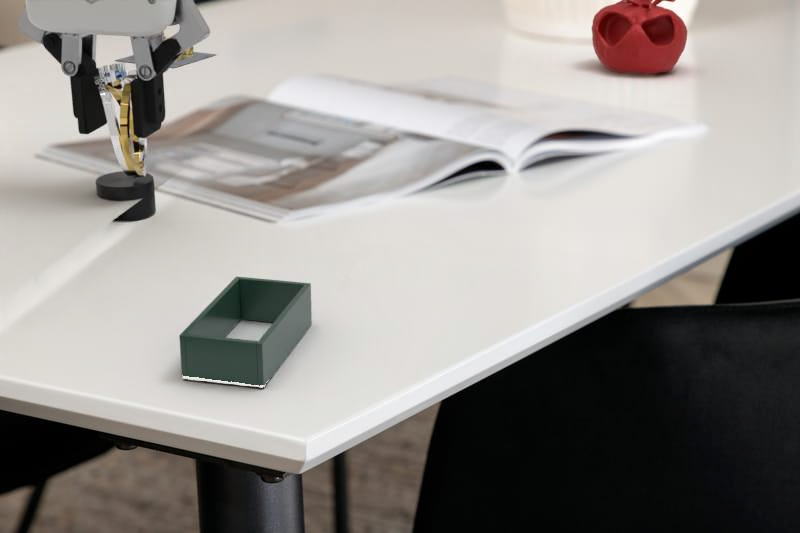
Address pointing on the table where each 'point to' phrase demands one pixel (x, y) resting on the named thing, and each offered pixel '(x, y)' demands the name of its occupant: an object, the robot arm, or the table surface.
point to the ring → (122, 118)
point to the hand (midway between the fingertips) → (120, 128)
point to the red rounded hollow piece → (638, 37)
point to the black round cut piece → (128, 193)
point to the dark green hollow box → (246, 358)
